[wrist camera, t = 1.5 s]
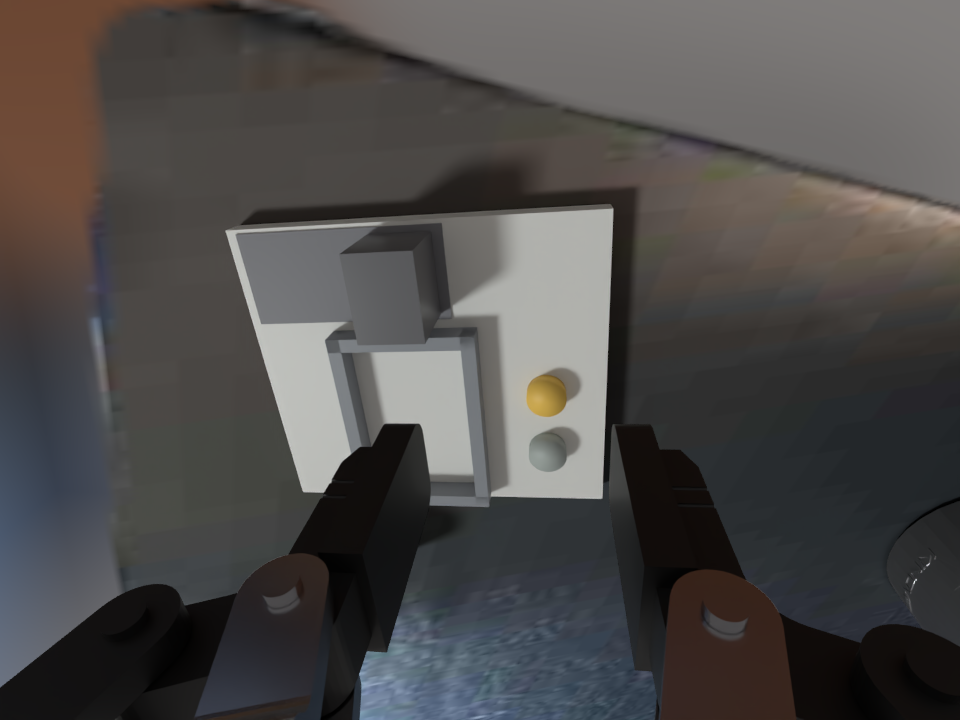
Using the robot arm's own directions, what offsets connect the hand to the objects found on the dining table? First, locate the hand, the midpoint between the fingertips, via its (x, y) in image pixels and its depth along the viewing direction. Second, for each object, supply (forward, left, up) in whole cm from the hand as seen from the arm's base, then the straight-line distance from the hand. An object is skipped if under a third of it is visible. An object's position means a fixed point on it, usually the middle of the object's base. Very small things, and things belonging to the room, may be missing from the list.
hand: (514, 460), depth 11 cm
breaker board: (+5, +6, -15) cm, 17 cm away
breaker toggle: (+6, 0, -14) cm, 15 cm away
